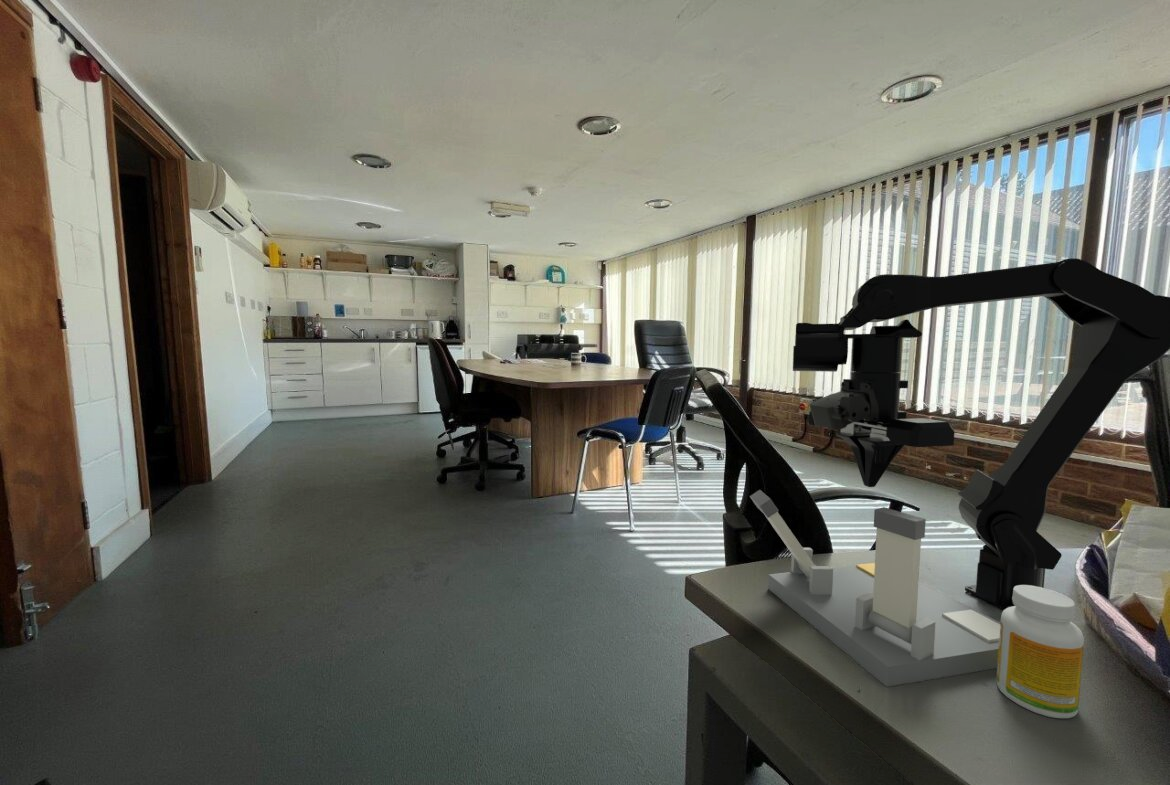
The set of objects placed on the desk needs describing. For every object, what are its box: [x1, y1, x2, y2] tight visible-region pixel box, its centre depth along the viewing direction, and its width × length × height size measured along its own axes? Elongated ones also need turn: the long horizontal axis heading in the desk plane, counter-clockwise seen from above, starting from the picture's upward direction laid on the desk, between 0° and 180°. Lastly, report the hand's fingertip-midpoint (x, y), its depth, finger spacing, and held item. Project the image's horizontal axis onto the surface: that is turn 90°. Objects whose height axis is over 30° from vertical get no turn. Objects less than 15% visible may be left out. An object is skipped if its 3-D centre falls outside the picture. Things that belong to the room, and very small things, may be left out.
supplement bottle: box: [996, 585, 1085, 719], centre depth 43 cm, size 5×5×10 cm
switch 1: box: [749, 489, 817, 579], centre depth 60 cm, size 2×4×12 cm
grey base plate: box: [768, 547, 1001, 688], centre depth 56 cm, size 18×19×5 cm
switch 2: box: [868, 507, 927, 644], centre depth 48 cm, size 2×4×12 cm, turn 27°
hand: (869, 486), depth 65 cm, fingers closed
